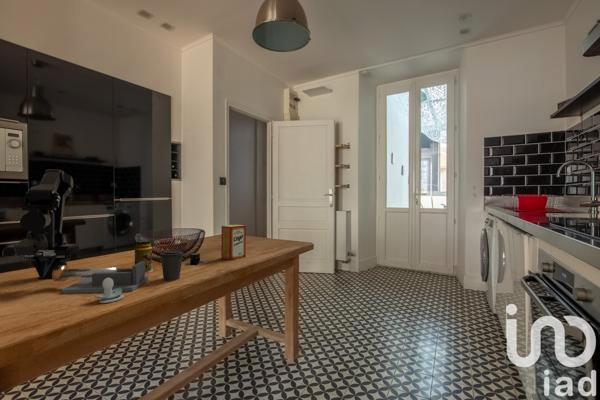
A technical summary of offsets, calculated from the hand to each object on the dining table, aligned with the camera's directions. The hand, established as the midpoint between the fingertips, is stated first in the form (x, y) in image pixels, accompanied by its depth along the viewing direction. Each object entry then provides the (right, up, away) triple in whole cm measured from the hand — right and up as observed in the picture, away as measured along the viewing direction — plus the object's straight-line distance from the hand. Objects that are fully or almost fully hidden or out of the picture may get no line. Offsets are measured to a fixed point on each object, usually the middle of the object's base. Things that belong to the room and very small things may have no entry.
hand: (42, 276), depth 93 cm
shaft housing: (+19, -4, +3) cm, 20 cm away
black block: (+35, -4, +37) cm, 51 cm away
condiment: (+19, -4, +22) cm, 30 cm away
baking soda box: (+50, -4, +48) cm, 70 cm away
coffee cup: (+36, -4, +12) cm, 38 cm away
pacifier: (+28, -4, -10) cm, 30 cm away
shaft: (+13, -2, +2) cm, 13 cm away
